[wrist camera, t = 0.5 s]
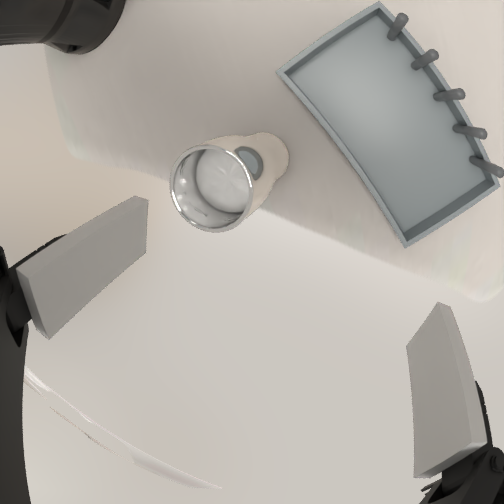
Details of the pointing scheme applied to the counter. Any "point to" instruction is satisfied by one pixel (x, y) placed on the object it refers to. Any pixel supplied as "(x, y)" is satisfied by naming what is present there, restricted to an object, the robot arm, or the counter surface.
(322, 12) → the counter surface
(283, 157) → the beer glass
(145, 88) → the counter surface
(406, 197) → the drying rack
